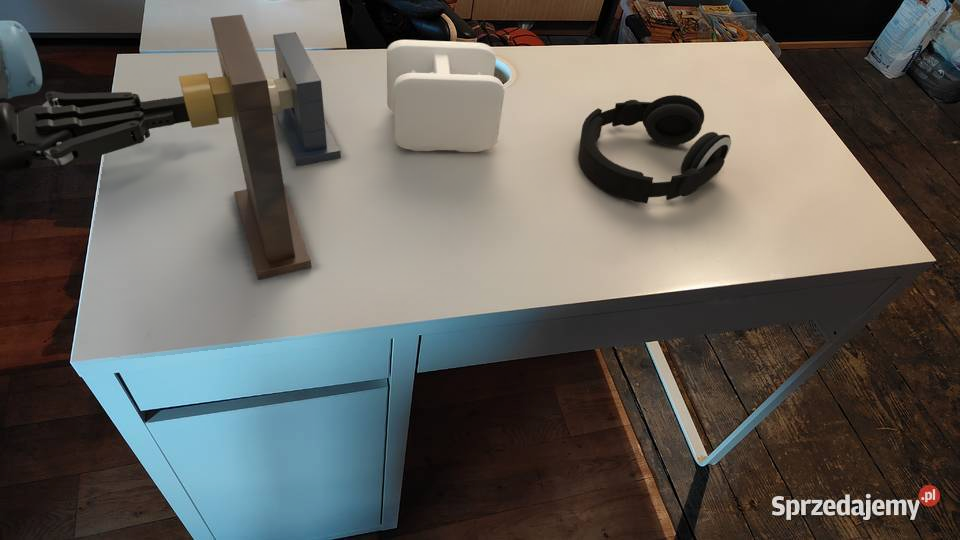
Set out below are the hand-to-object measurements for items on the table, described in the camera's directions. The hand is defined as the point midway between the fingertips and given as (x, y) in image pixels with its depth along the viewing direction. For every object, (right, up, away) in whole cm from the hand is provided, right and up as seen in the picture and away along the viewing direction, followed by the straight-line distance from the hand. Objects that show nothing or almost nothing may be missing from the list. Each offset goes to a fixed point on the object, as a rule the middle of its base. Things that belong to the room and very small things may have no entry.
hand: (200, 106), depth 83 cm
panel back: (+11, -1, +9) cm, 14 cm away
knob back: (+9, +1, +5) cm, 10 cm away
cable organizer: (+29, -1, +12) cm, 32 cm away
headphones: (+59, -6, +12) cm, 60 cm away
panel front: (+10, -16, -4) cm, 19 cm away
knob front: (+10, -5, -17) cm, 21 cm away
